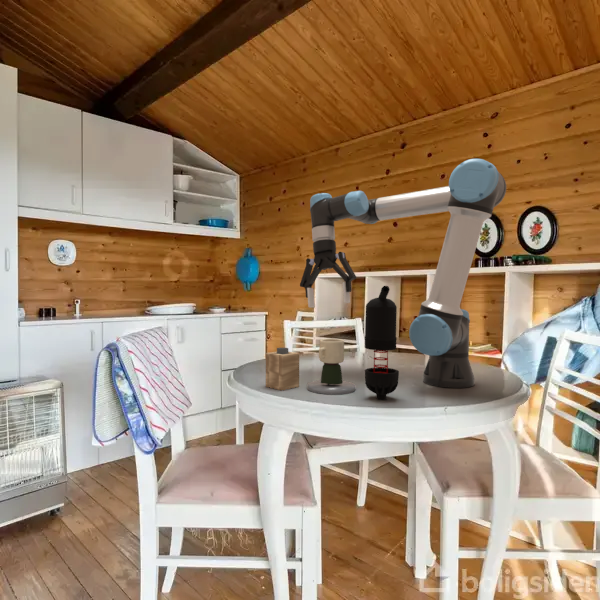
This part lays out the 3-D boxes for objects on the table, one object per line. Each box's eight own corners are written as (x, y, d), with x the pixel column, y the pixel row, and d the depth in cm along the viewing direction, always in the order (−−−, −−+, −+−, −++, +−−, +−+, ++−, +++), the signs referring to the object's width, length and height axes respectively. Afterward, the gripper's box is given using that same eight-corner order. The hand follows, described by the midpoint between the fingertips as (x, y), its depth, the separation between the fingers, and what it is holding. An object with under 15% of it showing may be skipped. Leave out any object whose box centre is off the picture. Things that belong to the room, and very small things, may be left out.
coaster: (364, 388, 129) (365, 384, 129) (335, 397, 119) (335, 392, 119) (327, 381, 139) (327, 377, 139) (297, 388, 129) (297, 384, 129)
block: (299, 386, 131) (299, 353, 131) (282, 390, 126) (282, 355, 126) (282, 383, 136) (282, 350, 136) (265, 386, 131) (265, 353, 131)
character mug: (334, 380, 135) (334, 337, 135) (352, 383, 131) (353, 339, 130) (309, 385, 128) (310, 340, 127) (328, 389, 123) (329, 342, 122)
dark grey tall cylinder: (290, 382, 131) (290, 348, 131) (282, 383, 129) (282, 349, 129) (282, 380, 134) (282, 347, 133) (274, 382, 131) (274, 348, 131)
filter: (404, 404, 112) (405, 285, 112) (368, 404, 112) (369, 285, 111) (390, 391, 126) (392, 286, 125) (358, 391, 125) (359, 285, 125)
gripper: (363, 235, 142) (368, 301, 140) (299, 249, 157) (304, 309, 154) (351, 231, 136) (357, 300, 134) (287, 246, 151) (291, 308, 148)
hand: (328, 305), depth 144 cm, fingers open, 13 cm apart
